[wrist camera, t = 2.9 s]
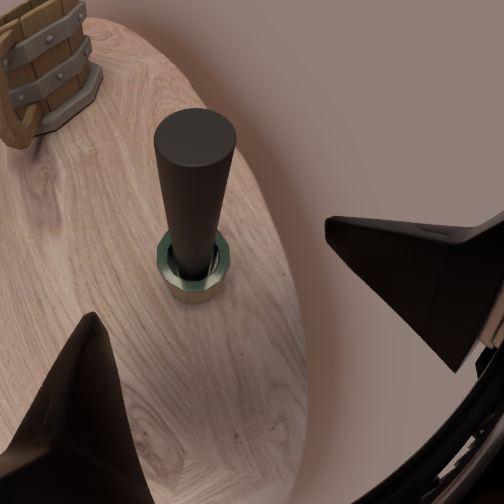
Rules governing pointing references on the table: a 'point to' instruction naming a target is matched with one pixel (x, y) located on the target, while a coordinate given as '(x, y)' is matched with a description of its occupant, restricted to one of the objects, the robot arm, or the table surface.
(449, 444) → the robot arm
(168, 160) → the stylus
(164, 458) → the table surface
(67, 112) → the tankard
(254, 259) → the table surface
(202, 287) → the pen pot
